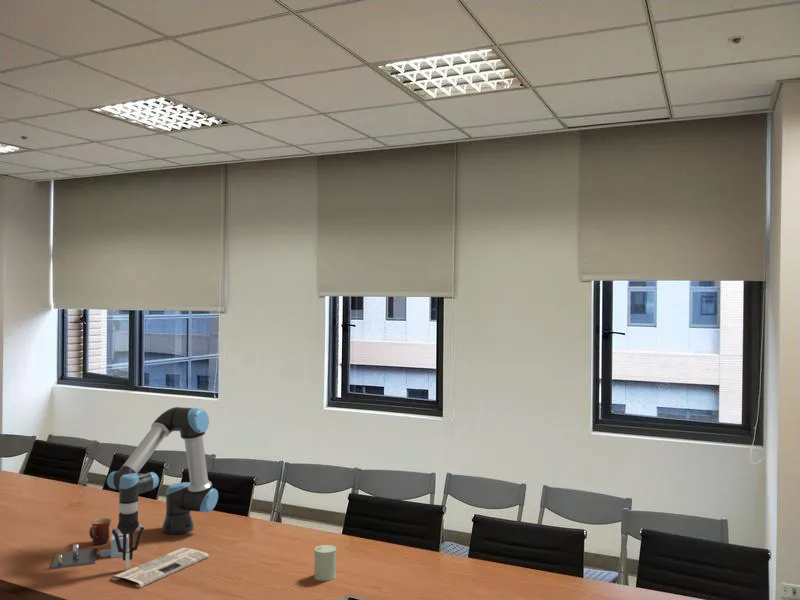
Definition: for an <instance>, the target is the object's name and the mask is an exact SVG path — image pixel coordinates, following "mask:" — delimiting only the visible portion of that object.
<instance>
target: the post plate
mask: <svg viewBox="0 0 800 600" xmlns="http://www.w3.org/2000/svg"><path fill="white" fill-rule="evenodd" d="M79 546H80V544H79V543H74V544H73V545H72V550H71V551H63V552H56V554H55V557H54V559H53V561H52V564H51V565H50V569H51V570H54V569H55V570H56V569H62V568H70V567H78V566H79V567H80V566H86V565H95V564H96V561H97V556H98V553H99V548H98V547H97V548H89V549H88V548H87V549H80V550H79Z"/></svg>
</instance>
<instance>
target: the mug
mask: <svg viewBox="0 0 800 600" xmlns="http://www.w3.org/2000/svg"><path fill="white" fill-rule="evenodd" d="M90 523H91V524H90V525H91V526H90V528H89V531H88V532H89V537H90V539H91V541H92V543H93V545H96V546H102V545H105V544H107V543H108V542H109V541H110V531H111V530H110V526H111V523H112V519H111V518H107V517H105V518H97V519H94V520H92V521H91V522H90Z"/></svg>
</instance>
